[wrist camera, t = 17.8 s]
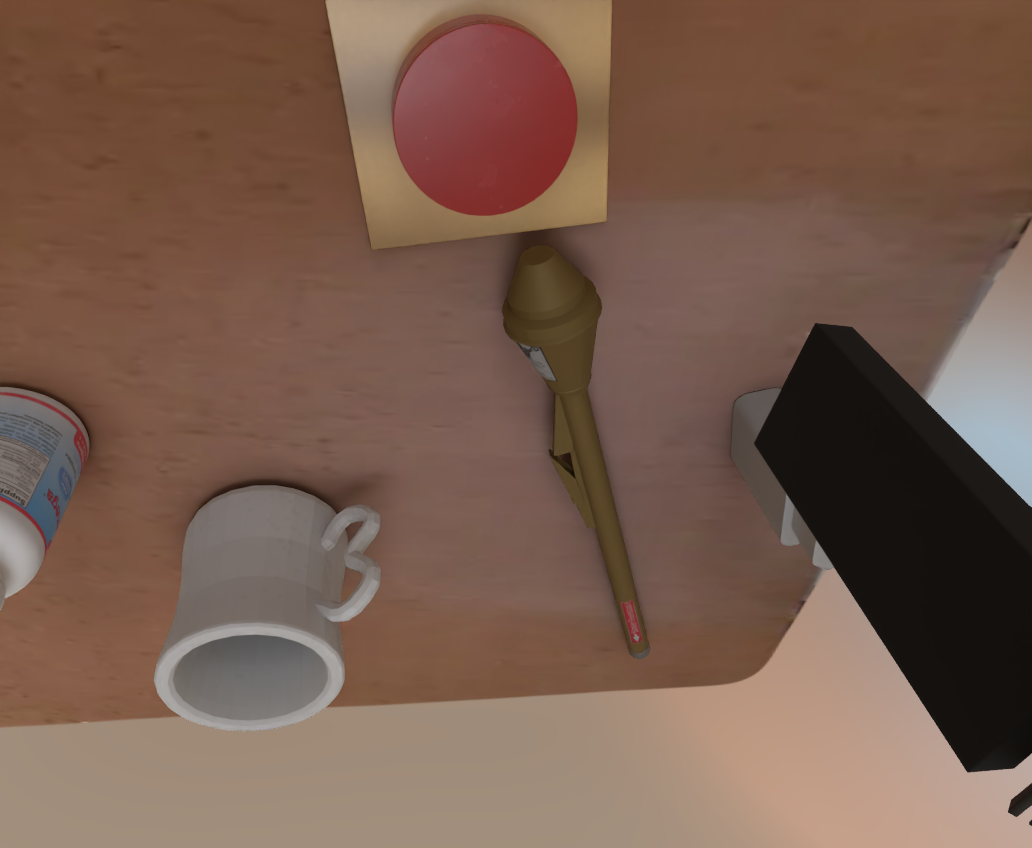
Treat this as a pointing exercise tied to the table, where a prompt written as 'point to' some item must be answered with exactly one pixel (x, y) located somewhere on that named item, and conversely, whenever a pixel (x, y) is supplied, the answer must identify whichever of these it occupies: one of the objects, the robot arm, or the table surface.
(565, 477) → the toy grenade launcher
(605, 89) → the coaster
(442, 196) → the lid
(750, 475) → the power adapter
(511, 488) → the table surface
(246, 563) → the mug
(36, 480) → the pill bottle
